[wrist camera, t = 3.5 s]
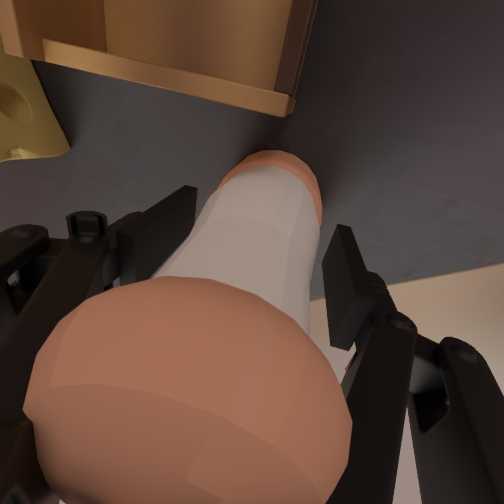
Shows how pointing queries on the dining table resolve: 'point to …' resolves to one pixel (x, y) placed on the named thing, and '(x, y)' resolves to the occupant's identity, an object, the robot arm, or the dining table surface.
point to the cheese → (26, 113)
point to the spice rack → (173, 44)
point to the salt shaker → (201, 365)
